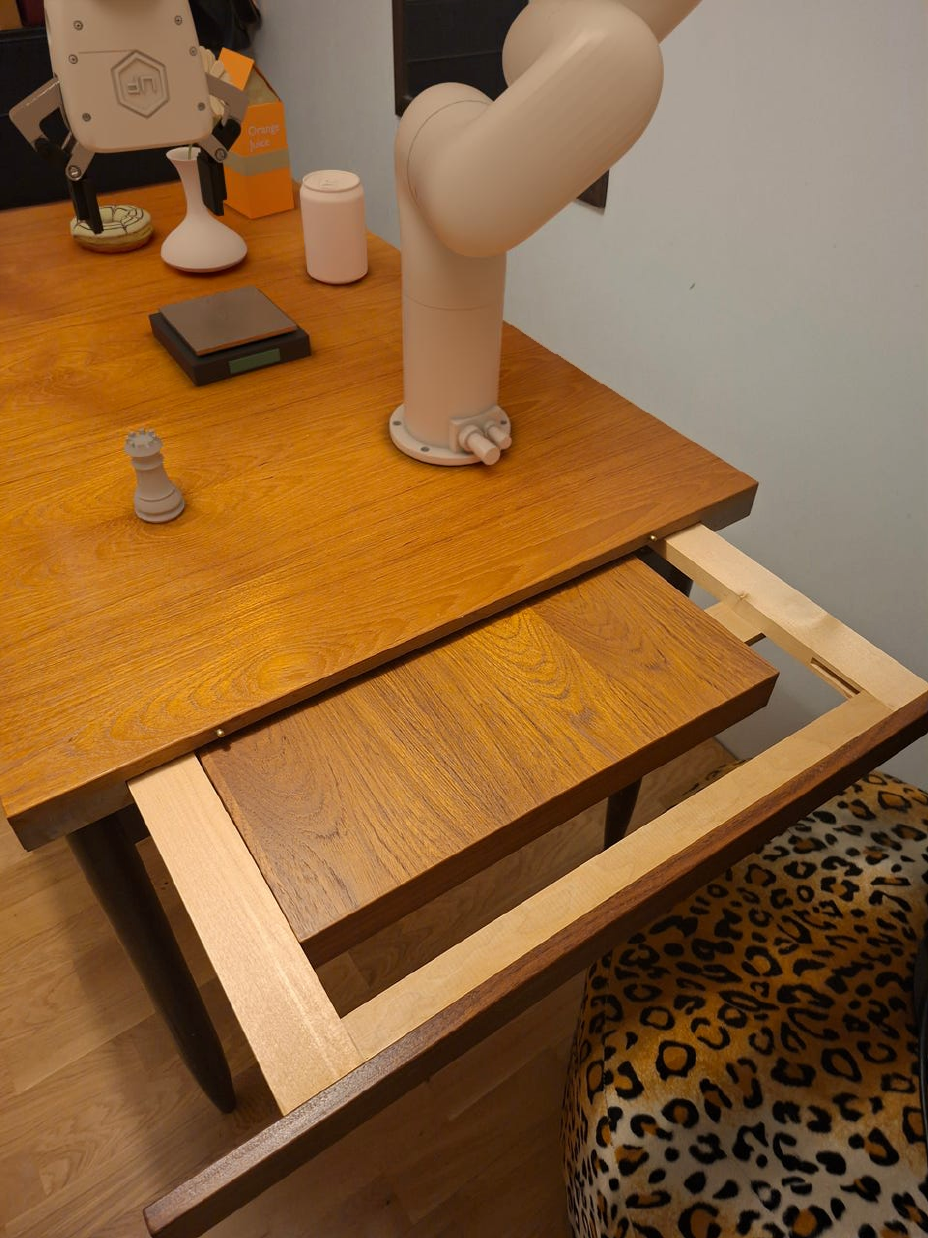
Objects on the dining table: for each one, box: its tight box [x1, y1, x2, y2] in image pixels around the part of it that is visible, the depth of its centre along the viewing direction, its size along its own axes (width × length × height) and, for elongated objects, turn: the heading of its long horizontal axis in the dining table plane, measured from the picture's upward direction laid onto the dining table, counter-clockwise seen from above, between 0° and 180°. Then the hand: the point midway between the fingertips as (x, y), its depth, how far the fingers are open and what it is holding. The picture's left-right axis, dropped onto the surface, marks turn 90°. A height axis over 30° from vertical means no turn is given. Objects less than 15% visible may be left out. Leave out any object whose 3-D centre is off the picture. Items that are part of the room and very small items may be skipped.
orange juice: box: [215, 46, 295, 220], centre depth 126 cm, size 8×9×20 cm
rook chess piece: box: [123, 428, 185, 524], centre depth 77 cm, size 4×4×8 cm
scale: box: [148, 288, 312, 387], centre depth 102 cm, size 14×14×2 cm
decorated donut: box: [69, 204, 154, 253], centre depth 121 cm, size 10×11×4 cm
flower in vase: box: [160, 45, 248, 273], centre depth 110 cm, size 13×11×25 cm
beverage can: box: [299, 169, 369, 285], centre depth 113 cm, size 8×8×12 cm
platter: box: [157, 285, 297, 356], centre depth 100 cm, size 12×12×1 cm
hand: (155, 218), depth 70 cm, fingers open, 9 cm apart
